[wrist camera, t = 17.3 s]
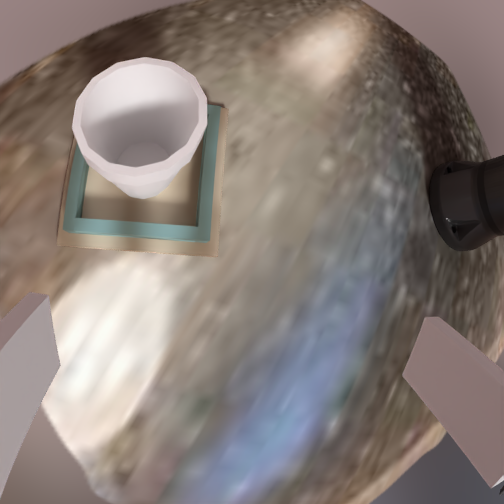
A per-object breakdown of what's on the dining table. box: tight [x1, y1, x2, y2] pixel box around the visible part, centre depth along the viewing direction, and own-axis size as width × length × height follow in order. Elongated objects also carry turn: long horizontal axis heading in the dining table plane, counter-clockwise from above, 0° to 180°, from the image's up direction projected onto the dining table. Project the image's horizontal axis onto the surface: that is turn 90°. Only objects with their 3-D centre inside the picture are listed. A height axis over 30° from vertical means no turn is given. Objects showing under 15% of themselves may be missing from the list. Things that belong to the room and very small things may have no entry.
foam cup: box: [72, 57, 207, 199], centre depth 25 cm, size 10×9×13 cm
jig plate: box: [57, 104, 229, 257], centre depth 31 cm, size 17×17×4 cm
